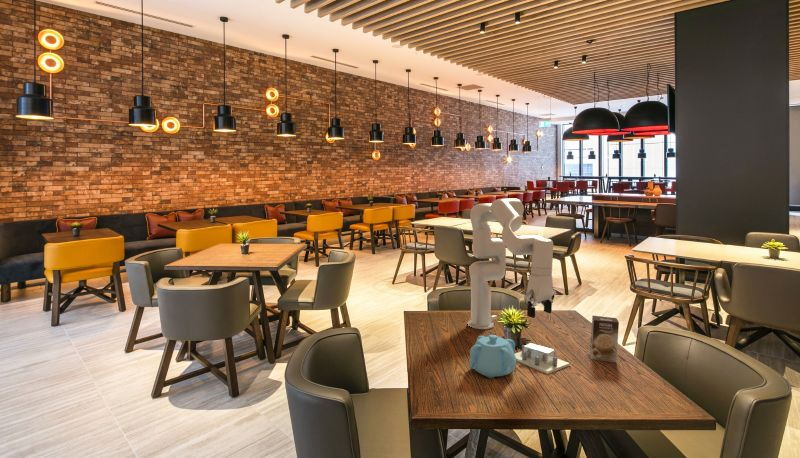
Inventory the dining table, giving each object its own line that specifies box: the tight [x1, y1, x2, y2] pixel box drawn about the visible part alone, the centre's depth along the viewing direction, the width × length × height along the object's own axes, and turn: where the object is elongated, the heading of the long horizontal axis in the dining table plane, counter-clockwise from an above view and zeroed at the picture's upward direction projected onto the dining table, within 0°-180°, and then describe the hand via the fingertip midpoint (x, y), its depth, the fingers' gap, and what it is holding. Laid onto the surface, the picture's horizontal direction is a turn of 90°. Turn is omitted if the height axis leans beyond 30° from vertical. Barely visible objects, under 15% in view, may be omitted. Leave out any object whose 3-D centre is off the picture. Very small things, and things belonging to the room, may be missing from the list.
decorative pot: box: [468, 334, 517, 379], centre depth 159 cm, size 16×16×14 cm
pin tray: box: [514, 344, 570, 375], centre depth 168 cm, size 13×18×4 cm
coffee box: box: [589, 315, 620, 363], centre depth 171 cm, size 9×6×16 cm
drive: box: [524, 342, 555, 365], centre depth 168 cm, size 5×10×4 cm, turn 44°
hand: (539, 314), depth 167 cm, fingers open, 9 cm apart
